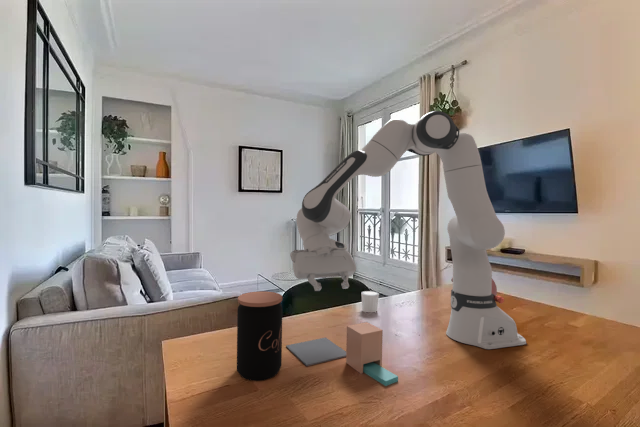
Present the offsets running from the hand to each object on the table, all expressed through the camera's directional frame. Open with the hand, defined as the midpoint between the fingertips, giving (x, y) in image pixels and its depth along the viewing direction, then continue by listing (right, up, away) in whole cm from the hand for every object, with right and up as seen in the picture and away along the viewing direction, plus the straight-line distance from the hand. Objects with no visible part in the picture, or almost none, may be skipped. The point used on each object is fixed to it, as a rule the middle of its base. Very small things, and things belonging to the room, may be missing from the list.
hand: (332, 288), depth 96 cm
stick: (+9, -17, -16) cm, 25 cm away
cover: (+7, -16, -13) cm, 22 cm away
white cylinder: (+16, -16, +32) cm, 40 cm away
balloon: (+59, -17, +41) cm, 74 cm away
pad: (-5, -16, -5) cm, 18 cm away
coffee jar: (-18, -16, -16) cm, 30 cm away
